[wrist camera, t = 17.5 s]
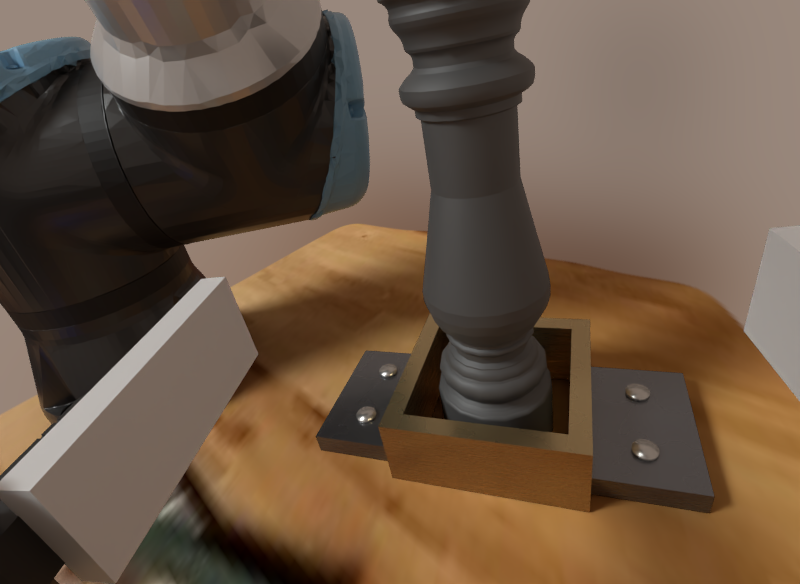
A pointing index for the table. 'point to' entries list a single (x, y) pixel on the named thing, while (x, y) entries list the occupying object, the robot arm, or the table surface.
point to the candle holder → (478, 208)
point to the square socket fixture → (528, 449)
